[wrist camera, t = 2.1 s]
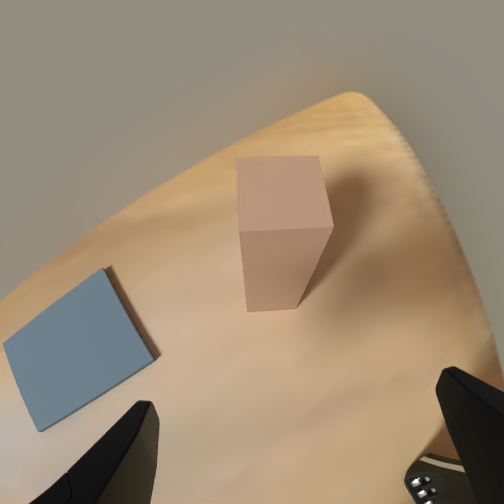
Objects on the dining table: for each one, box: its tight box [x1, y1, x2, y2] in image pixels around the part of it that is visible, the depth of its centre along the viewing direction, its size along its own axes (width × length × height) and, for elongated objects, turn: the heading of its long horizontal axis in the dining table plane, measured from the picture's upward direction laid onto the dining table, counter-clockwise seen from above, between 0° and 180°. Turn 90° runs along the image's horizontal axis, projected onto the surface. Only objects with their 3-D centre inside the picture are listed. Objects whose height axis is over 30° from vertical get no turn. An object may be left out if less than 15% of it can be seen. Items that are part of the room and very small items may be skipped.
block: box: [236, 156, 334, 312], centre depth 18 cm, size 4×4×12 cm
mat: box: [3, 268, 156, 432], centre depth 21 cm, size 13×9×1 cm
